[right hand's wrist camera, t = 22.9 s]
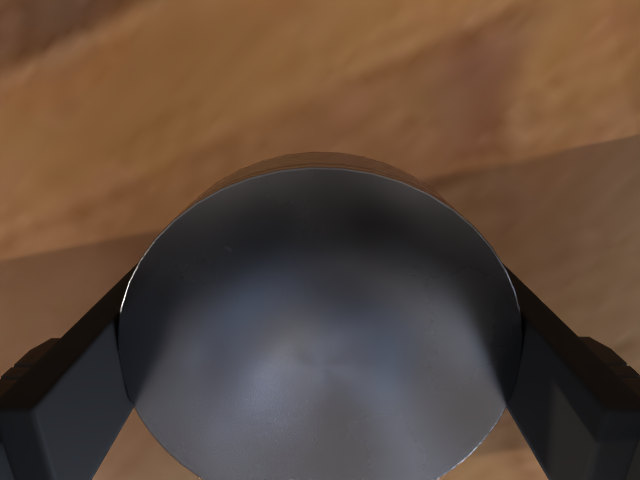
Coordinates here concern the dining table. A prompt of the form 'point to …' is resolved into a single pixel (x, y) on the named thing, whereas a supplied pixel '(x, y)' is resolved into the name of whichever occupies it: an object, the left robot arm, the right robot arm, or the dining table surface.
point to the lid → (320, 327)
